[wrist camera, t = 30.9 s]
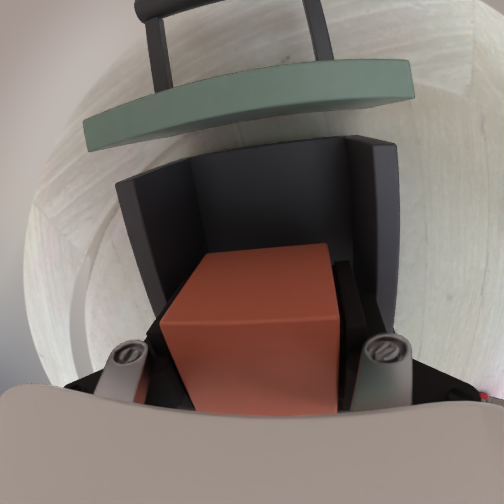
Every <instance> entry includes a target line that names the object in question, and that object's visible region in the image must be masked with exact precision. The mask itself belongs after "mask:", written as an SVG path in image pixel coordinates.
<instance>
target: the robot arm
mask: <svg viewBox="0 0 504 504" xmlns="http://www.w3.org/2000/svg"><path fill="white" fill-rule="evenodd" d="M331 267H332V273H333V279H334V284H335V291H336V297H337V303H338V310H339V317H340V350H339V385H338V400H342V404H343V409H346V408H347V409H348V410H350V412H347V413H334V414H317V415H241V414H223V413H209V412H198V411H188V410H180V409H178V407H179V406H182V407H192V408H194V405H193V403H192V401H191V398H190V396H189V394H188V392H187V390H186V388H185V385H184V383H183V381H182V379H181V376H180V374H179V372H178V369H177V367H176V365H175V362H174V360H173V358H172V355H171V353H170V350H169V348H168V345H167V343H166V340H165V338H164V335H163V333H162V330H161V328H160V321H161V319H162V318H163V316H164V315H165V313H166V312H167V310H168V309H169V307H170V306H171V304H172V303H173V301H174V300H175V299H176V297H177V296H178V294H179V293H180V291H181V290H182V288H183V287H184V285H185V284H186V282H187V281H188V280H189V278H190V277H191V275H192V274H193V272H192V273H188V274H187V276H186V277H185V278H184V280H183V281H182V283H181V284H180V285H179V287H178V288H177V290H176V291H175V292H174V294H173V295H172V297H171V298H170V300H169V301H168V302H167V304H166V305H165V307H164V308H163V310H162V311H161V312H160V314H159V315H158V317H157V318H156V320H155V321H154V323H153V324H152V325H151V327H150V328H149V330H148V331H147V333H146V334H147V337H146V339H145V340H144V341H141V340H130V341H126V342H124V343H121V344H120V345H118V346H117V347H116V348H115V349H113V351H112V352H111V354H110V356H109V358H108V360H107V363H106V365H105V367H104V369H102V370H99V371H97V372H95V373H93V374H90V375H88V376H86V377H83V378H81V379H79V380H76V381H74V382H72V383H69V384H67V385H65V386H64V387H63V388H62V387H58V386H53V385H46V384H24V385H18V386H15V387H12V388H10V389H8V390H7V391H6V392H4V393H3V394H2V395H1V396H0V504H504V400H503V399H499V398H495V397H491V396H488V398H487V400H486V399H483V398H481V396H480V394H479V392H478V391H477V390H476V389H475V387H473V386H471V385H470V384H468V383H466V382H463V381H461V380H459V379H457V378H454V377H452V376H450V375H448V374H445V373H443V372H441V371H439V370H436V369H434V368H432V367H430V366H428V365H425V364H423V363H421V362H419V361H417V360H414V359H412V347H411V344H410V343H409V341H408V340H407V339H406V338H404V337H403V336H401V335H398V334H395V333H389V332H387V331H386V328H385V325H384V322H383V319H382V316H381V313H380V310H379V307H378V304H377V301H376V299H375V296H374V293H373V292H370V293H360V294H359V293H358V290H357V286H356V283H355V279H354V276H353V272H352V269H351V266H350V262H349V260H344V261H334V265H332V266H331Z"/></svg>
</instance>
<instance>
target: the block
mask: <svg viewBox="0 0 504 504" xmlns="http://www.w3.org/2000/svg"><path fill="white" fill-rule="evenodd" d="M160 328H161V330H162V333H163V335H164V338H165V340H166V343H167V345H168V348H169V350H170V353H171V355H172V358H173V360H174V362H175V365H176V367H177V369H178V372H179V374H180V376H181V379H182V381H183V383H184V385H185V388H186V390H187V392H188V394H189V396H190V398H191V401H192V403H193V405H194V407H195V409H196V411H198V412H209V413H223V414H241V415H317V414H334V413H337V406H338V385H339V350H340V317H339V310H338V303H337V297H336V291H335V284H334V279H333V273H332V267H331V261H330V256H329V250H328V245H327V244H326V243H319V244H307V245H296V246H285V247H274V248H262V249H251V250H240V251H229V252H218V253H208V254H206V255H205V257H204V258H203V259H202V261H201V262H200V264H199V265H198V267H197V268H196V269H195V271H194V272H193V274H192V275H191V277H190V278H189V280H188V281H187V282H186V284H185V285H184V287H183V288H182V290H181V291H180V293H179V294H178V296H177V297H176V299H175V300H174V301H173V303H172V304H171V306H170V307H169V309H168V310H167V312H166V313H165V315H164V316H163V318H162V319H161V321H160Z"/></svg>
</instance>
